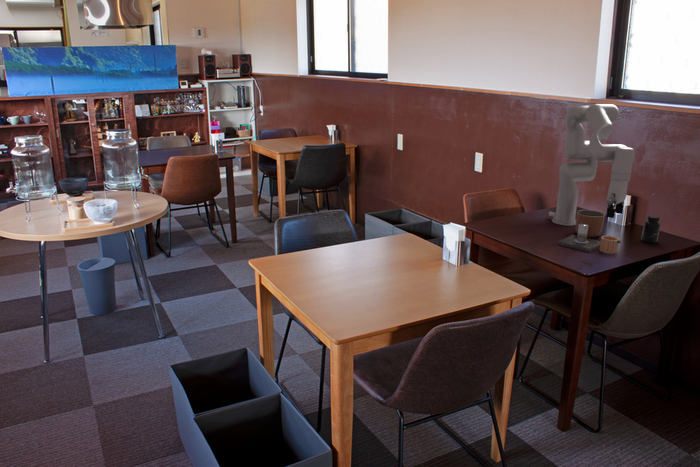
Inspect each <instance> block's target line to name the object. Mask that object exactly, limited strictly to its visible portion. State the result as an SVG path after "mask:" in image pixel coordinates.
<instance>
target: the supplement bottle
mask: <svg viewBox="0 0 700 467" xmlns="http://www.w3.org/2000/svg"><path fill="white" fill-rule="evenodd" d="M660 229H661V223H660V216H658V215H652V214H651V215H650V214H649V215H648V216H647V220H646V221H644V223H643V228H642V233H641V237H640V238H641V239H640V240H641V241H642V242H644V243H650V244H656V243H657V242H658V240H659V235H660Z"/></svg>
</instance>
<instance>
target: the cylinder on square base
mask: <svg viewBox="0 0 700 467" xmlns="http://www.w3.org/2000/svg"><path fill="white" fill-rule="evenodd" d="M587 232H588V225H587V224H579V228H578V233H577V235H575V234H570V235H568V236H567V237H565V238H562V239H560V240H558V241H557V246H562V247H565V248H570V249H575V250H578V251H582V252H586V253H592V252H594V251H596V250H599V248H600V242H601V240H597V239H593V238H590V237H587Z"/></svg>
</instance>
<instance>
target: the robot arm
mask: <svg viewBox="0 0 700 467" xmlns="http://www.w3.org/2000/svg"><path fill="white" fill-rule="evenodd" d="M619 117H620V112H619V108H618V107H617V106H616V105H615V104H610V103H609V104H608V103H607V104H606V103H596V104H595V103H594V104H591V105H574V106H573V105H572V106H571V107H570V108H568V110H567V111H566V114H565V127H566V137H565V147H564V157H565V158H566V159H568V160H574V161H575V160H577V161H575V162H574V161H570V162H565V163H562V164H561V165H560V167H559V187H558V193H557V194H558V195H557V202H556V203H557V204H556V211H555V212H553V211H549V212H548V216H549V217H552V219H551V222H552V223H554V224H556V225H560V226H566V227H567V226H569V227H570V226H576V216H577V209H578V208H577V207H578V200H579V194H580V192H579V191H580V189H579V187H578V185H577V183H576V182H590V181H593V180H594V179H595V178H596V174H597V169H598V162H599V163H600V162H601V163H602V162H603V163H605V162H609V163H610V162H611V163H612V166H611V171H610V178H609V179H610V183H609V185H608V186H609V187H608V191H607V196H606V203H607V208H606V209H607V210H606V214H605V218H610V219H614V218H615V216H616V214H618V215H619V214H620V215H622V214H624V213H623V212H624V206H625V201H626V197H627V192H628V187H629V186H628V183H629V182H630V180H631V175H632V169H633V163H634V158H635V149H634V148H632V147H629V146H626V145H625V144H619V143H618V144H614V143H604V144H602V143H601V141H600V140H602V139H605V138H607V137H609V136H610V135H611V134H612V133H613V130H614V125H613V124H614V123H616V122H617V121H618V119H619ZM582 124H583V125H582ZM584 124H588V126H589V128H590V129H591V132H592V134H591V135H590V137H589V140H585V138H586V130H585V128H584ZM578 160H580V161H578ZM581 160H583V161H584V162H583V161H581Z"/></svg>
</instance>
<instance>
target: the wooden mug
mask: <svg viewBox="0 0 700 467" xmlns="http://www.w3.org/2000/svg"><path fill="white" fill-rule="evenodd" d="M600 241H601V242H600V248H598V250H599V252H601V253H604V254H611V255H613V254H617V253H618V248H619V244H621V243H622V240H620V239H619V238H618V237H616V236H613V235H602V236H601V237H600Z"/></svg>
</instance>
